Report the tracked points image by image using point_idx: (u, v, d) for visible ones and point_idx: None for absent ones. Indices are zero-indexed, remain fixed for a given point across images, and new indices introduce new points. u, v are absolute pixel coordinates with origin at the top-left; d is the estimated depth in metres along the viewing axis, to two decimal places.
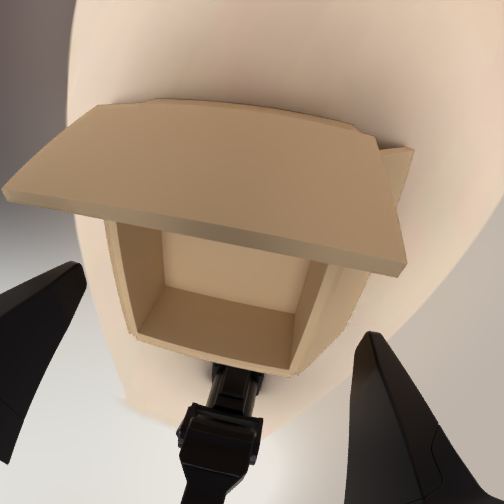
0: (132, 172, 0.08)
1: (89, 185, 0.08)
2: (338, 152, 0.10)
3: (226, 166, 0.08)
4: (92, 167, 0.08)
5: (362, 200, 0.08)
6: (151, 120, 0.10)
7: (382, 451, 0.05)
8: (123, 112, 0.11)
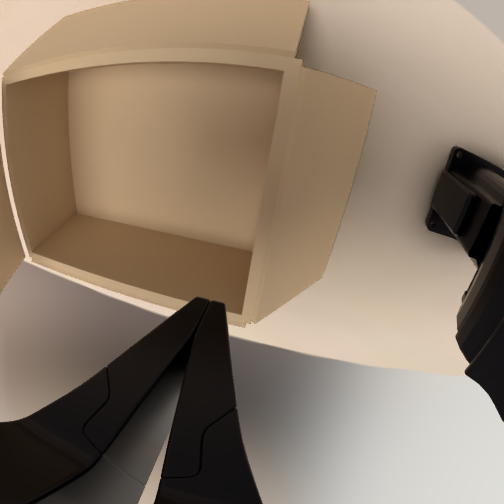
0: None
1: None
2: None
3: None
4: None
5: None
6: None
7: None
8: None
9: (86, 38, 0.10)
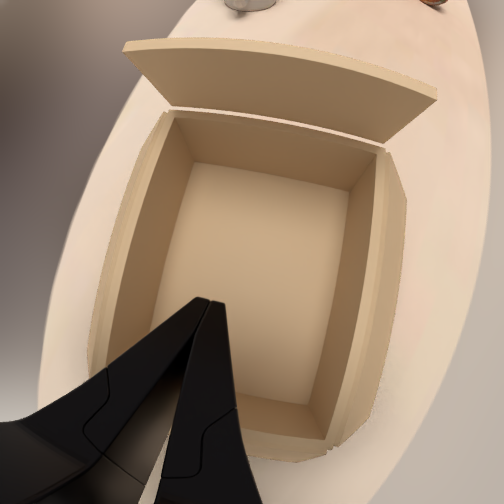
0: None
1: None
2: None
3: None
4: None
5: None
6: None
7: None
8: None
9: (387, 265, 0.16)
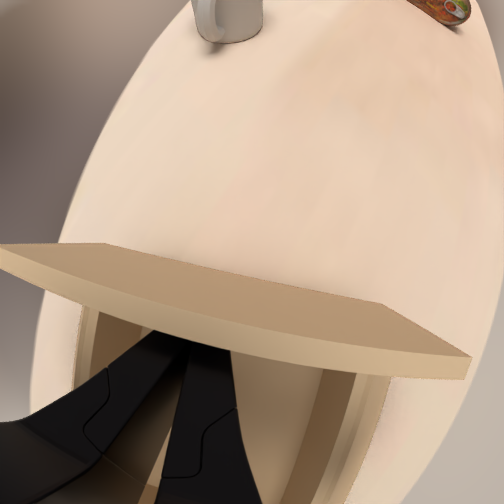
0: (162, 286, 0.07)
1: (109, 279, 0.06)
2: (362, 309, 0.10)
3: (268, 303, 0.08)
4: (110, 270, 0.07)
5: (406, 330, 0.07)
6: (168, 265, 0.11)
7: None
8: (134, 254, 0.12)
9: (357, 443, 0.12)
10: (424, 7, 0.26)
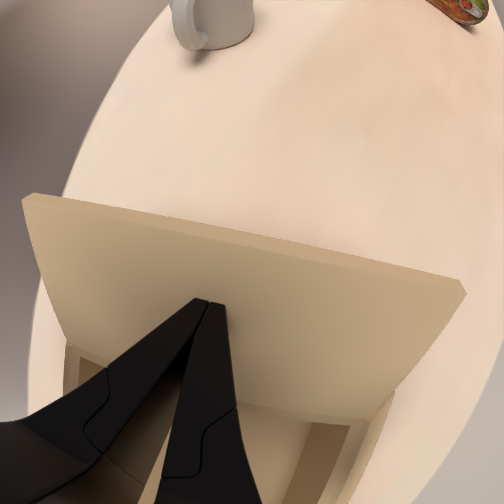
0: None
1: None
2: None
3: None
4: None
5: None
6: None
7: None
8: None
9: None
10: (437, 3, 0.22)
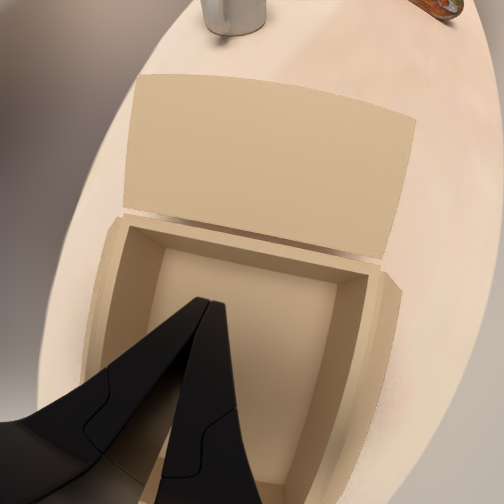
0: None
1: None
2: None
3: None
4: None
5: None
6: None
7: None
8: None
9: (365, 395, 0.14)
10: (419, 3, 0.27)
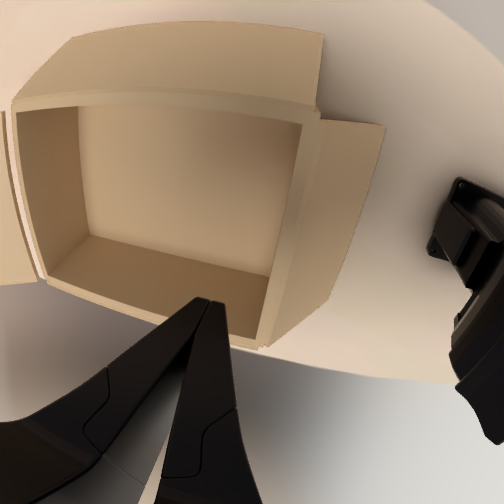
0: None
1: None
2: None
3: None
4: None
5: None
6: None
7: None
8: None
9: (98, 71, 0.11)
10: None
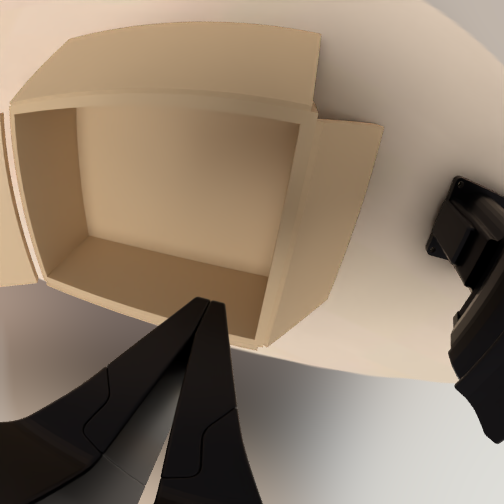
0: None
1: None
2: None
3: None
4: None
5: None
6: None
7: None
8: None
9: (96, 72, 0.11)
10: None
